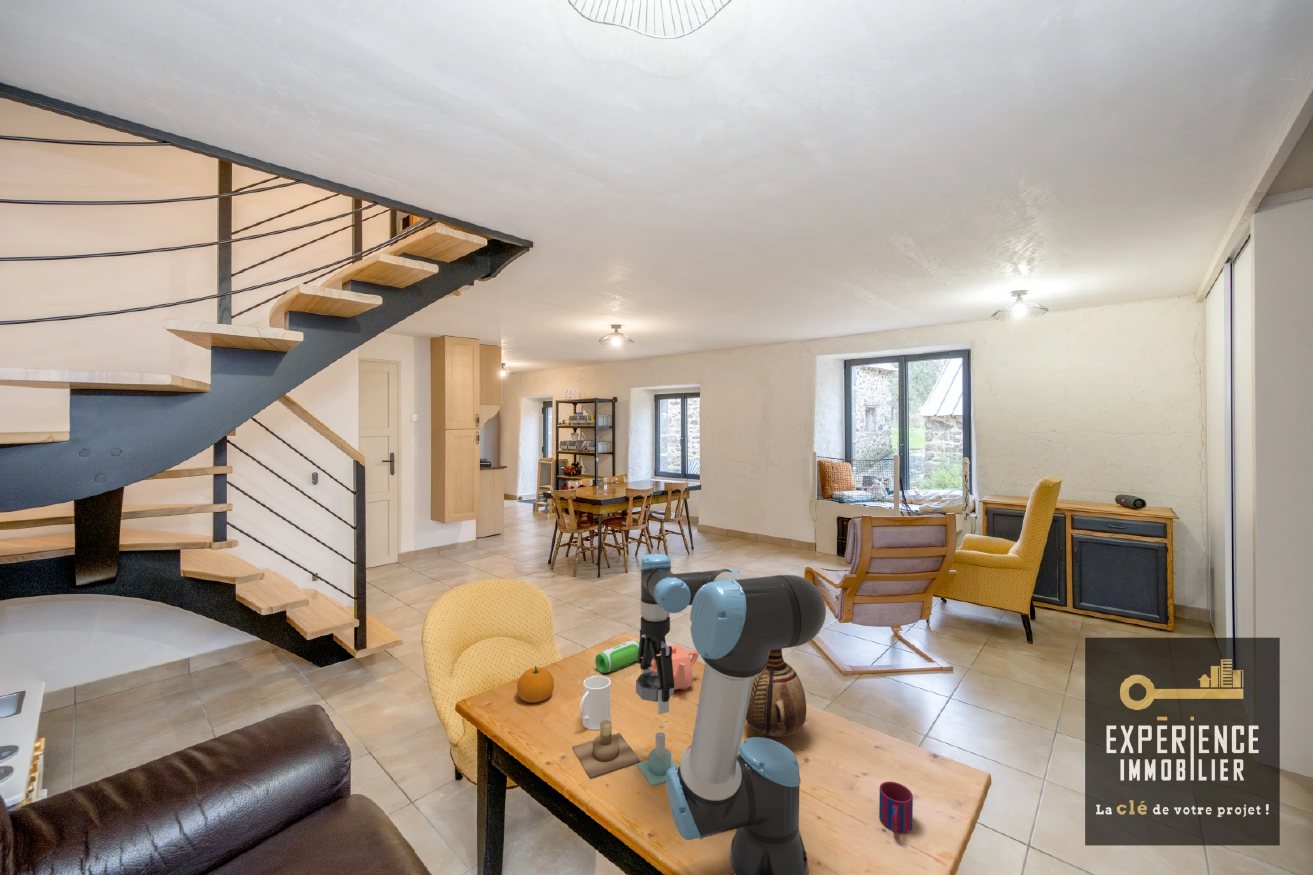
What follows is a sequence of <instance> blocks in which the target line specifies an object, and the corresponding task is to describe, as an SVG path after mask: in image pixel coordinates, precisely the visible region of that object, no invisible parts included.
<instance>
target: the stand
mask: <svg viewBox="0 0 1313 875" xmlns="http://www.w3.org/2000/svg"><path fill="white" fill-rule="evenodd" d="M648 758H649V759H646V760H644V761H641V762H640V763H637V764H636V766H637V768H638V770H640V772H641V773H642V774H643V776H644V777H645V778H646V780H647V782H648V783H649V784H650V786H652V788H653V787H656V786H658V785H661V784H664V783H666V772H667V770H668V769H669V768H672V767H673V766H676V767H678V766H679V765H677V763H676V762H675V761H674V760H673V758H672V753H671V751H670V750H669V749H667V748H666V734H665V733H664V732H657V733H655V748H653V749H651V750H650V752H649V756H648Z"/></svg>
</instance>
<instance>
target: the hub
mask: <svg viewBox="0 0 1313 875" xmlns="http://www.w3.org/2000/svg"><path fill="white" fill-rule="evenodd" d="M612 724H613V723H612V720H611V721H608V720H605V721H602V722H601V723H600V730H599V731H600V732H599V733H600V734H599V735H597V736H596V737H595V738H594V739H593V740H590V741H587V742H583V743H580V744H577V745H573V746H572V750H573V752H574V754H575V755H576V757H577V758H578V760H579V762H580V764H581V766H582V767H583V769H584V771H585V773H586V774H587V776H588V777H589V779H590V780H591V779H595V778H598V777H600V776H604V775H607V774H610V773H613V772H616V771H619V770H622V769H626V768H628V767H631V766H634V765H635V766H636V765H637V763H640V762H642V760H641V759H640V758H639V756H638V755H637V753H636V752H635V751H634V749H633V748H632V747H631V746H630V745H629V743H628V742H627V740H626V739H625V738H624V737H623V735H622V734H621V733H620V732H617V733H614V734H612V731H613V730H612V729H613V728H612Z"/></svg>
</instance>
